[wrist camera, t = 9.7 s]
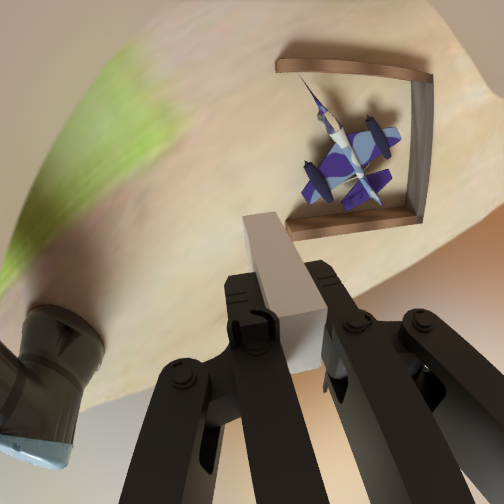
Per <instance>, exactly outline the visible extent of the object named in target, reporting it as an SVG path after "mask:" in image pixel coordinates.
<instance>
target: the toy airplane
mask: <svg viewBox="0 0 504 504" xmlns="http://www.w3.org/2000/svg"><path fill="white" fill-rule="evenodd" d="M299 76H300V75H299ZM301 79H302V78H301ZM302 80H303V79H302ZM303 82H304V81H303ZM304 83H305V82H304ZM305 85H306V83H305ZM306 86H307V85H306ZM307 88H308V89H309V87H308V86H307ZM309 91H310V92H311V94H312V96H313V97H314V100H315V102H316V104H317V106H318V108H319V110H320V113H321V114H318V115H317V117H318V119H317V120H318V121H320V122H321V123H323V122H324V123H323V124H324V125H325V126H326V129H327V132H328V134H329V135H330V136H331V138H332V139H333V140H334V141H335V143H334V145H333V146H332V148H331V149H330V151H329V152H328V154H327V155H326V157H325V158H324V160H323V161H322V163H321V164H320V165H319V167H318V168H316V167H315V166H314V165H313V163H312V162H309V163H308V162H307V161H305V165H304V169H305V171H306V173H307V175H308V177H309V179H310V180H309V182H308V183H307V185H306V186H305V188H304V189H303V191H302V192H301V194H302V195H303V197H304V198H305V200H306V201H307V202H308V204H312V203H314V202H315V201H317V200H318V199H319V198H321V197H322V198H323V199H324V200H325V201H326V202H327V203H332V202H333V196H332V193H331V190H332V189H334V188H335V187H336V186H338V185H339V184H343V183H345V182H348V181H350V180H353V179H355V178H357V177H358V178H359V181H358V182H357V183H356V184H355V185H354V187H353V188H352V189H351V190H350V192H349V193H348V194H347V195H346V196H345V198H344V199H343V200H342V201H341V203H342V205H343V206H344V208H345V210H346V211H348V210H350V209H352V208H354V207H356V206H358V205H360V204H362V203H363V202H365V201H367V200H369V199H370V198H371V199H374V200H375V201H377V202H378V203H379V204H380V205H383V203H382V201H381V199H380V197H379V195H378V194H377V193H378V192H379V191H380V190H381V189H382V188H383V187H384V186H385V185H386V184H387V183H388V182H389V181H390V180H391V179H392V176H391V173H390V171H389V169H385V170H382V171H379V172H376V173H373V174H370V175H367V176H365V174H364V171H365V170H366V169H367V167H368V166H369V165H370V163H369V162H370V161H372V160H373V159H375V158H376V157H378V156H379V155H380V154H383V156H384V157H385V158H386V159H389V158H390V157H391V153H390V149H389V148H390V147H392V146H393V145H395V144H396V143H398V142H399V141H400V140H401V136H400V134H399V131H398V129H397V128H396V127H389V128H382V129H381V128H380V127H379V125H378V124H377V122H376V121H375V119H374V118H373V117H371V118H370V117H369V116H368V115H367V120H366V121H365V122H366V123H367V126H368V129H369V131H363V132H357V133H352V134H345V131H344V129H343V127H342V125H341V124H340V123H339V122H338V121H337V120H336V119H335V118H334V116H333V115H332V114H331V113H330V112H329V111H328V110H327V109H326V108H325V107H324V106H323V105H322V104H321V102H320V101H319V100H318V99H317V98H316V97H315V96H314V94H313V93H312V91H311V90H310V89H309ZM363 166H366V168H365V169H364V170H362V167H363ZM355 173H356V175H357V176H356V177H353V178H351V179H349V180H346V179H348V178H349V177H351V176H352V175H353V174H355ZM345 180H346V181H345Z"/></svg>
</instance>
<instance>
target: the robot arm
mask: <svg viewBox="0 0 504 504" xmlns="http://www.w3.org/2000/svg"><path fill="white" fill-rule="evenodd" d="M242 219H243V228H244V236H245V245H246V254H247V262H248V269H249V273H244V274H238V275H232V276H228V278H227V280H226V282H225V284H224V289H225V297H226V305H227V313H228V322H227V333H228V337H229V345H228V346H227V348H226V349H225V351H223V352H222V353H221V354H220V355H218V356H216V357H215V358H213V359H210V360H208V361H206V362H203V363H201V362H200V361H198V360H196V359H192V358H180V359H177V360H174V361H172V362H170V363H169V364H168V365H166V366H165V367H164V368H163V370H162V371H161V373H160V375H159V377H158V380H157V383H156V386H155V389H154V392H153V395H152V398H151V401H150V404H149V406H148V409H147V412H146V415H145V419H144V421H143V424H142V428H141V431H140V434H139V437H138V440H137V443H136V446H135V449H134V453H133V456H132V459H131V463H130V466H129V469H128V473H127V476H126V479H125V482H124V486H123V489H122V493H121V496H120V500H119V504H212V501H213V494H214V488H215V483H216V476H217V470H218V464H219V458H220V452H221V446H222V440H223V434H224V428H225V424H226V423H228V422H231V421H233V420H235V419H237V418H239V417H241V419H242V425H243V431H244V437H245V443H246V448H247V455H248V460H249V466H250V472H251V477H252V483H253V488H254V493H255V498H256V503H257V504H330V503H329V500H328V496H327V493H326V490H325V487H324V483H323V480H322V477H321V473H320V470H319V467H318V463H317V460H316V457H315V453H314V450H313V447H312V444H311V441H310V437H309V434H308V431H307V427H306V424H305V421H304V417H303V414H302V411H301V407H300V404H299V401H298V398H297V394H296V391H295V388H294V384H293V381H292V378H291V375H290V374H294V373H298V372H303V371H307V370H311V369H316V368H320V365H321V360H323V362H324V364H325V367H326V372H325V378H324V383H323V393H325V392H327V388H329V391H330V393H331V396H332V399H333V401H334V404H335V407H336V409H337V412H338V415H339V417H340V420H341V423H342V425H343V428H344V431H345V433H346V436H347V438H348V441H349V444H350V447H351V450H352V452H353V455H354V458H355V461H356V463H357V466H358V469H359V472H360V475H361V477H362V480H363V483H364V486H365V488H366V491H367V494H368V497H369V500H370V503H371V504H475V501H474V499H473V497H472V494H471V492H470V490H469V488H468V485H467V483H466V481H465V479H464V476H463V474H462V472H461V470H462V471H463V472H464V473H465V475H466V476H467V477H468V478H469V479H470V480H471V481H472V483H473V484H474V485H475V486H476V487H477V489H478V490H479V491H480V492H481V493H482V495H483V496H484V497H485V498H486V499H487V501H488V502H489V503H490V504H504V375H503V374H502V373H501V372H500V371H498V369H496V368H495V367H494V366H493V365H492V364H491V363H490V362H489V361H488V360H487V359H486V358H485V357H484V356H483V355H481V354H480V353H479V352H478V351H477V350H476V349H475V348H474V347H473V346H471V345H470V344H469V343H468V342H467V341H466V340H464V338H462V337H461V336H460V335H459V334H458V333H457V332H456V331H454V330H453V329H452V328H451V327H450V326H449V325H447V324H446V323H445V322H444V321H442V320H441V319H440V318H439V317H438V316H437V315H435V314H434V313H432V312H431V311H429V310H425V309H412V310H410V311H408V312H407V313H406V314H405V315H404V317H403V321H377V320H376V319H375V318H374V317H373V316H372V315H371V314H370V313H368V312H366V311H364V310H361V309H358V307H357V306H356V304H355V302H354V301H353V299H352V298H351V296H350V294H349V293H348V291H347V290H346V288H345V287H344V285H343V284H342V283H341V280H340V279H339V277H337V274H336V273H335V271H334V270H333V268H332V267H331V266H330V265H328V264H327V263H325V262H324V261H322V260H318V261H312V262H306V263H304V262H303V261H302V259H301V257H300V255H299V253H298V251H297V250H296V248H295V246H294V244H293V242H292V241H291V239H290V237H289V235H288V233H287V232H286V230H285V228H284V226H283V225H282V223H281V221H280V219H279V217H278V216H277V214H276V212H268V213H261V214H254V215H247V216H242ZM103 356H104V346H103V343H102V341H101V339H100V337H99V336H98V334H97V333H96V332H95V330H94V329H93V328H92V327H91V326H90V325H89V324H88V323H87V322H85V321H84V320H83V319H82V318H80V317H79V316H77V315H75V314H74V313H72V312H70V311H68V310H66V309H63V308H60V307H57V306H52V305H40V306H37V307H34V308H33V309H32V310H31V311H30V312H29V313H28V315H27V317H26V319H25V321H24V323H23V326H22V339H21V345H20V353H19V356H18V358H17V357H16V356H15V355H14V354H13V353H12V352H11V351H10V350H9V349H8V348H7V347H6V346H5V345H4V344H3V343H2V342H1V341H0V451H2V452H4V453H6V454H8V455H10V456H12V457H15V458H17V459H19V460H22V461H24V462H27V463H30V464H33V465H36V466H40V467H43V468H48V469H54V470H60V469H64V468H65V467H66V466H67V465H68V462H69V457H70V454H71V450H72V448H73V439H74V433H75V428H76V423H77V418H78V413H79V408H80V404H81V399H82V395H83V391H84V389H85V387H86V386H87V384H88V383H89V381H90V380H91V378H92V376H93V375H94V374H95V373H96V372H97V371H98V370H99V368H100V366H101V364H102V360H103ZM425 365H426V366H427V367H428V368H429V369H427V368H426V367H425ZM460 469H461V470H460Z"/></svg>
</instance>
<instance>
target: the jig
mask: <svg viewBox="0 0 504 504" xmlns="http://www.w3.org/2000/svg"><path fill="white" fill-rule="evenodd" d="M275 70H276V73H281V72H323V73H345V74H358V75H369V76H379V77H387V78H394V79H401V80H407V81H411V92H412V118H411V146H410V161H409V173H408V184H407V193H406V201H405V207H396V208H387V209H377V210H368V211H359V212H351V213H342V214H334V215H325V216H317V217H309V218H301V219H294V220H286V221H285V225H286V231H287V233H288V235H289V237H290V239H291V241H292V242H293V241H300V240H307V239H314V238H321V237H328V236H335V235H342V234H349V233H356V232H363V231H370V230H377V229H385V228H392V227H399V226H406V225H413V224H420V223H422V222H423V217H424V211H425V204H426V198H427V190H428V183H429V174H430V165H431V153H432V139H433V116H434V84H433V74H429V73H425V72H420V71H415V70H410V69H405V68H399V67H393V66H387V65H380V64H372V63H364V62H354V61H342V60H326V59H280V60H278V61H276V62H275Z"/></svg>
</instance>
